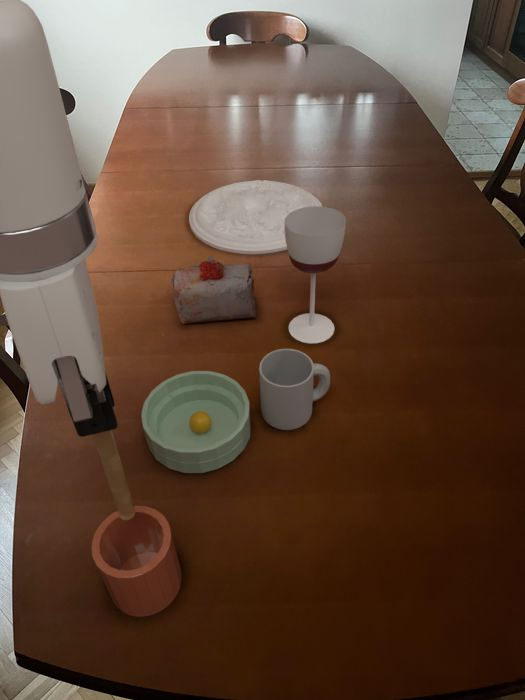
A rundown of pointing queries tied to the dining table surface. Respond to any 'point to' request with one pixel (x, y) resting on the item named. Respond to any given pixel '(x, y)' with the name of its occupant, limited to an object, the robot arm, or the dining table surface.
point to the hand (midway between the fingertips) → (97, 418)
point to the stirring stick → (114, 471)
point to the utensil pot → (138, 561)
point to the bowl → (174, 414)
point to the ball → (200, 422)
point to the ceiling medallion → (248, 215)
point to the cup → (290, 387)
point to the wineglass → (313, 261)
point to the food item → (214, 292)
